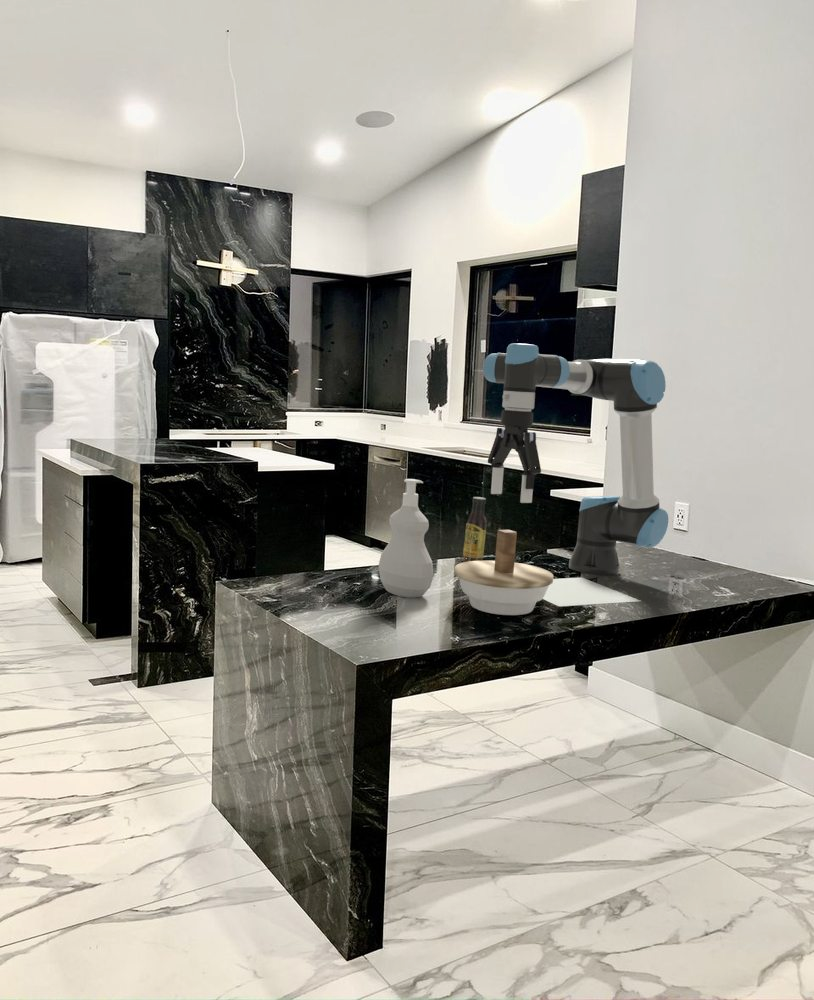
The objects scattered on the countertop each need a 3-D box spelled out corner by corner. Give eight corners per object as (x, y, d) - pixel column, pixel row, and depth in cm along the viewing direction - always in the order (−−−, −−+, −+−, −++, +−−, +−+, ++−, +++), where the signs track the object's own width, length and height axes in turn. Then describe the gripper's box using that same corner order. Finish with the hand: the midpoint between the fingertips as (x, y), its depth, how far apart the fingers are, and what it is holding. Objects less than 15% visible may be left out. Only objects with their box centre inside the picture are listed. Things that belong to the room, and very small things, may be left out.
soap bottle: (443, 598, 218) (451, 483, 213) (408, 604, 210) (417, 485, 206) (399, 583, 230) (406, 474, 226) (365, 588, 222) (372, 476, 218)
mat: (581, 579, 250) (581, 577, 249) (641, 603, 226) (641, 600, 226) (504, 583, 239) (504, 581, 238) (558, 608, 215) (559, 606, 215)
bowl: (484, 592, 227) (487, 561, 226) (562, 610, 214) (565, 577, 213) (437, 608, 209) (440, 574, 208) (520, 628, 196) (523, 592, 195)
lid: (518, 563, 226) (522, 521, 225) (573, 586, 205) (577, 539, 203) (437, 566, 216) (440, 522, 214) (485, 590, 195) (489, 542, 193)
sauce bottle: (458, 560, 265) (463, 496, 262) (471, 558, 269) (475, 495, 266) (475, 564, 260) (480, 499, 258) (487, 562, 265) (492, 498, 262)
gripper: (478, 405, 214) (472, 490, 217) (533, 412, 192) (525, 506, 195) (504, 407, 217) (497, 490, 221) (561, 413, 195) (553, 506, 198)
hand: (510, 498), depth 208 cm, fingers open, 13 cm apart
